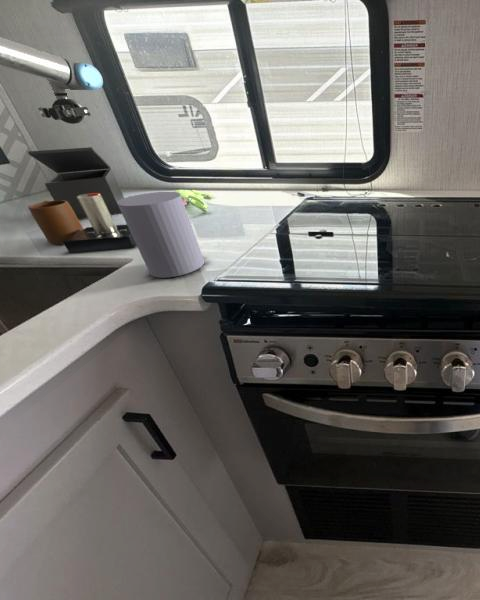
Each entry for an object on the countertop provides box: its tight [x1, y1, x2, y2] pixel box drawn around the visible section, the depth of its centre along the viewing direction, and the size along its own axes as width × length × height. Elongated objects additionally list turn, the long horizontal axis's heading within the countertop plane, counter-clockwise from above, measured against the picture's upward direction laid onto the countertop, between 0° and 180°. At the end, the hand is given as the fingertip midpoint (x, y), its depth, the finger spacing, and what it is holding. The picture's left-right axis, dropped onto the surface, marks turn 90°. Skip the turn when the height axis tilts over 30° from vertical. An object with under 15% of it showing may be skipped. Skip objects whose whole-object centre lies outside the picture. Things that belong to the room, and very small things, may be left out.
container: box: [117, 191, 205, 279], centre depth 68 cm, size 10×10×15 cm
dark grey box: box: [44, 168, 125, 220], centre depth 107 cm, size 17×14×11 cm
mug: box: [28, 200, 84, 245], centre depth 86 cm, size 12×8×9 cm, turn 49°
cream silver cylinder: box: [77, 193, 118, 235], centre depth 80 cm, size 4×4×9 cm
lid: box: [27, 146, 112, 174], centre depth 102 cm, size 18×14×1 cm
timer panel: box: [62, 224, 137, 254], centre depth 84 cm, size 14×10×3 cm
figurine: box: [172, 189, 213, 214], centre depth 109 cm, size 18×27×6 cm
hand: (53, 113), depth 98 cm, fingers closed
